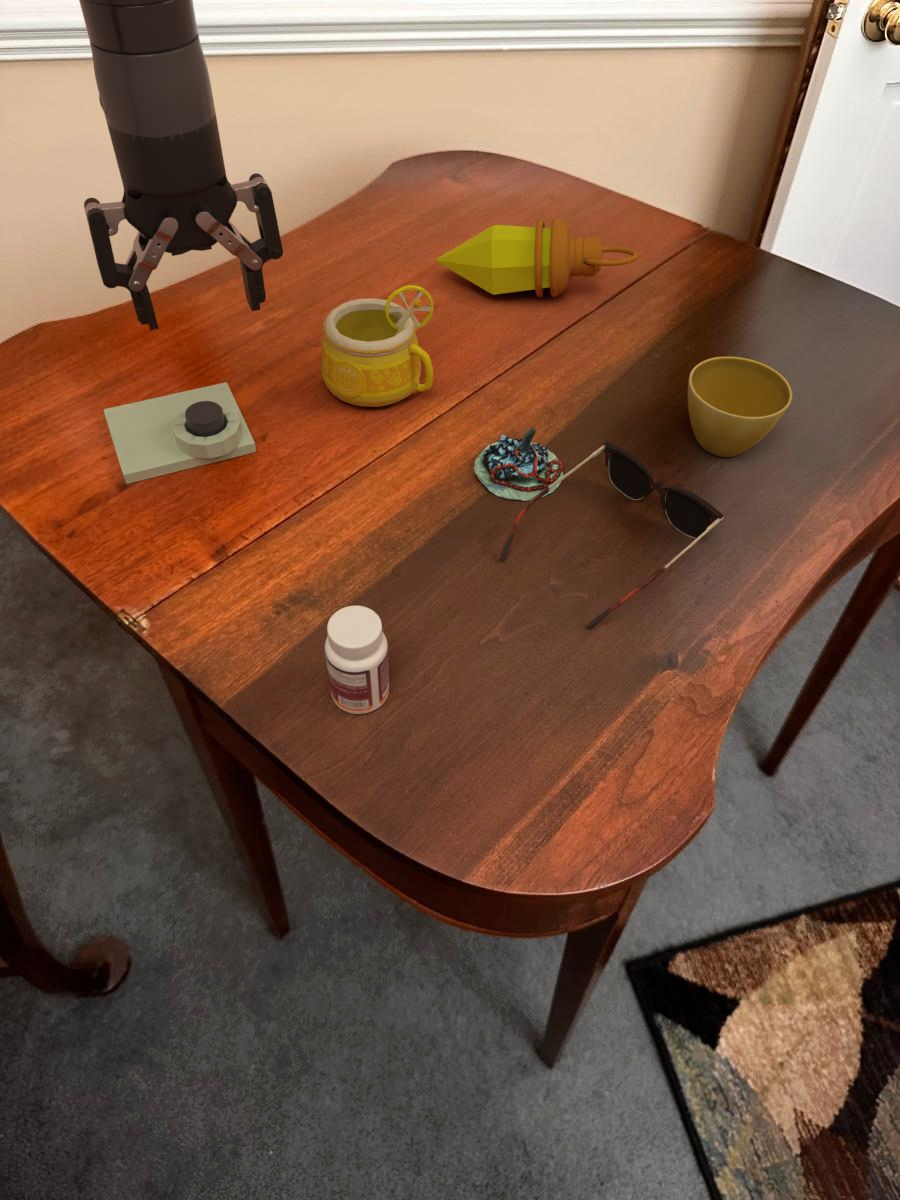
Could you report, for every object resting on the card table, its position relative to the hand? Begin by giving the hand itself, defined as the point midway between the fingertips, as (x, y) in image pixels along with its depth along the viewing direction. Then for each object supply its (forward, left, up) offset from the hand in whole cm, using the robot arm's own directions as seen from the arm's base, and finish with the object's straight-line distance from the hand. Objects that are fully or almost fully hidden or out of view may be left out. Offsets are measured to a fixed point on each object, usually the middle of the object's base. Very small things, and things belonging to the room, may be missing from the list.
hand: (204, 315), depth 73 cm
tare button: (-1, +4, -14) cm, 15 cm away
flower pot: (+48, -15, -17) cm, 53 cm away
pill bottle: (+2, -30, -17) cm, 34 cm away
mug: (+18, +7, -17) cm, 26 cm away
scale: (-4, +7, -17) cm, 19 cm away
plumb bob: (+43, +19, -17) cm, 50 cm away
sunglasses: (+28, -24, -17) cm, 41 cm away
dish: (+26, -11, -17) cm, 33 cm away
